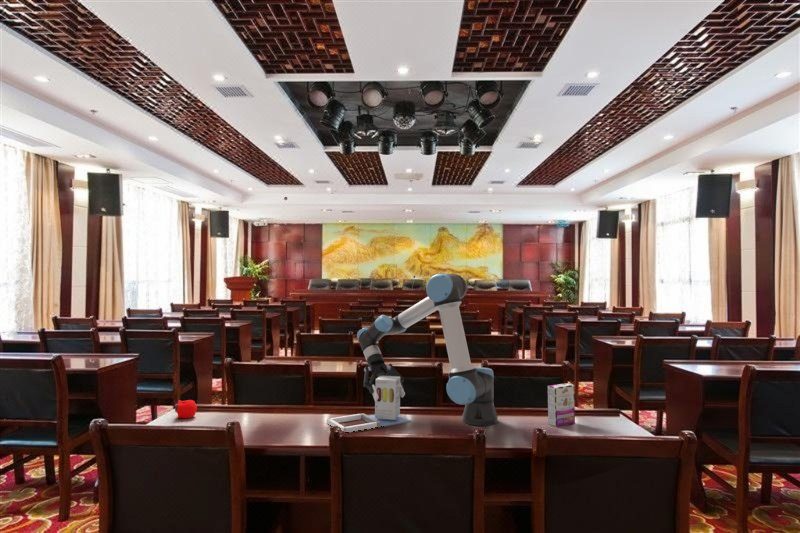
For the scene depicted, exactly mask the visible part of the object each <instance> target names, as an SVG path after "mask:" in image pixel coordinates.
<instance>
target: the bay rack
mask: <svg viewBox="0 0 800 533" xmlns="http://www.w3.org/2000/svg"><path fill="white" fill-rule="evenodd" d="M360 420H363V421H364V420H365V422H366V423H361V424H355V425H349V426H344V425H342V424H341V423H344V422H345V423H346V422H351V421H360ZM407 423H412V419H410V418H407V417H405V416H402V415H401V414H400V415H399V416H398V417H397V418H396V420H390V419H377V418H375V414H369V415H368V414H366V413H364V412H363V413H362V412H361V413H357V414H355V413H354V414H349V415H343V416H336V417H329V418H326V424H327V425H328V424H329V425H328V426H330V425H331V426H338V427H340V428H341V430H342V431H344V432H349V433H354V432H353V431H355V432H359V431H358V430H361V431H365V430H364V429H367V430H372V429H371V428H373V429H376V428H375V427H378V428H383V426H384V427H389V426H390V427H391V426H395V425H401V424H402V425H403V424H407ZM331 426H330V427H331ZM381 426H382V427H381Z"/></svg>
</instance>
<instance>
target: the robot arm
mask: <svg viewBox="0 0 800 533" xmlns="http://www.w3.org/2000/svg"><path fill="white" fill-rule="evenodd" d="M467 291H468V284H467V281H466V279H465V278H464V277H462V276H461V275H459V274H455V273H445V272H444V273H437V274H434V275H432V276H431V277H430V278H429V280H428V281H427V283H426V290H425V292H426V295H427V296H426V297H425V298H423V299H422V300H420V301H418V302H417V303H415V304H413V305H412V306H411V307H409V308H407V309H405V310H404V311H402V312H401V313H398V315H396V316H394V317H393V318H390V316H388V315H385V314H381V315H380V316H378V317H377V318H376V319H375V320H374V322H373V323H371V325H370V326H369V327H362V329H359V330H358V331H357V334H356V337H357V341H358V343H359V346H360V348H361V351H362V353H363V355H364V357H365V358H364V359H365V360H366V363H367V365H365V367H364V368H363V373H364V375H363V384H362V387H364V388H366V389H367V390H369V393H370V394H372V397H373V400H374V402H375V401H377V400H378V398H379V397H378V394H377V392H376V389H375V384H373V382H374V380H375V379H376V378H375V377H376V376H377V377H379V376H396V377H400V398H404V397H405V395H406V392H405V390H404V384H403V382H404V380H405V378H404V376H403V375H402V374H400V372H399V371H397V369H396V368H395V367H394V366H393V364H392V363H389V364H385V359H384V357H383V354H382V351H381V350H380V347H379V345H378V342H379V341H380V340H381V339H382V338H383V337H384V336H389V335H399V334H401V333H404V332H406V330H407V329H408V328H410V327H411V326H412V325H415V324H416V323H418V322H419V321H422V320H423V319H425V318H426V317H427V316H430V315H431V314H432V313H435V312H437V311H438V312H439V318H440V323H441V327H442V332H443V337H444V341H445V346H446V347H445V348H446V352H447V355H448V362H449V370H448V371H447V373H448V381H447V383H446V393H447V396H448V397H449V399H450V400H451V401H453V403H455V404H458V405H464V409H463V413H462V415H461V416H462V417H461V419H462V422H463V423H465V424H468V425H472V426H481V427H483V426H485V427H488V426H492V425H496V424H498V422H499V421H498V420H499V419H498V414H497V411H496V407H495V404H494V388H495V386H494V382H495V381H494V379H495V376H494V370H493V369H492V368H489V367H481V366H475V365H473V363H471V357H470V353H469V348H468V344H467V343H468V342H467V339H466V333H465V329H464V324H463V321H462V315H461V311H460V306H461V304H462V299H463V298H464V297H465V296H466V294H467ZM369 372H371V373H372V375H371V377H370V380H369Z"/></svg>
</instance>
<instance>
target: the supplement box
mask: <svg viewBox="0 0 800 533" xmlns="http://www.w3.org/2000/svg"><path fill="white" fill-rule="evenodd" d="M374 387H375V389H376V392H377V394H378V397H379V398H378V400H377V401H375V400H374V415H375V418H377V419H390V420H396V418H397V417H398V416H399V415H401V395H400V377H396V376H384V375H379V376H377V378H375V384H374Z"/></svg>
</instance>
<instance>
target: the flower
mask: <svg viewBox="0 0 800 533" xmlns="http://www.w3.org/2000/svg"><path fill="white" fill-rule="evenodd" d="M177 404H178V405H177V410H176V414H177V417H176V419H181V418H182V419H190V418H192V417H193V418H194V416H195V415H196V414H197V410H198V406H197V404H196V402H195V400H193V399H188V400H180V399H179V400H178V402H177Z"/></svg>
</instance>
